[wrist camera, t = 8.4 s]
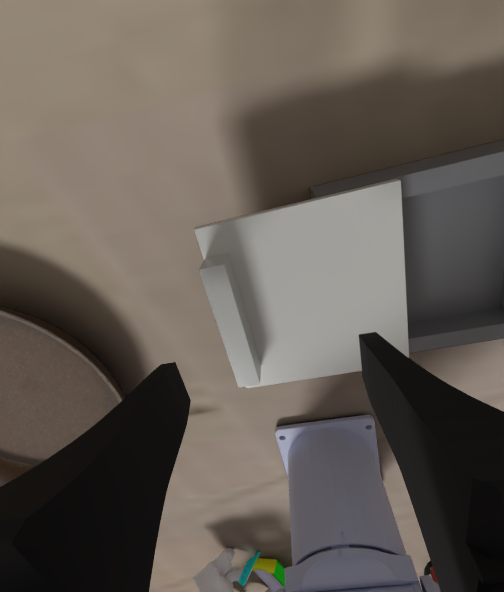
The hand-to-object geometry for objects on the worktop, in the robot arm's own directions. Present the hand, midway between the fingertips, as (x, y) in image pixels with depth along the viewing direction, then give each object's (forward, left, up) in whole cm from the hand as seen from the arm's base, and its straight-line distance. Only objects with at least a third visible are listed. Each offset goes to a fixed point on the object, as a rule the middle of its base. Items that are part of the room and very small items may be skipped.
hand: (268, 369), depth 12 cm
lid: (0, -2, -6) cm, 6 cm away
